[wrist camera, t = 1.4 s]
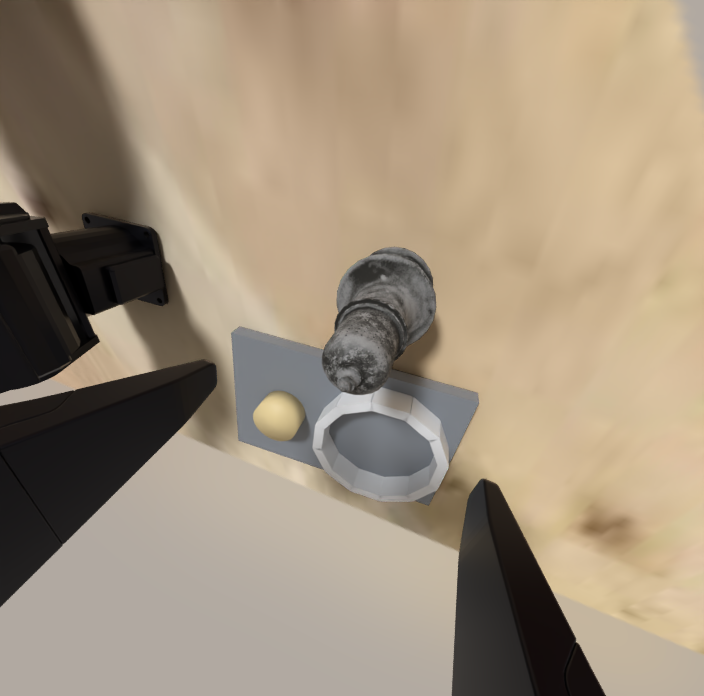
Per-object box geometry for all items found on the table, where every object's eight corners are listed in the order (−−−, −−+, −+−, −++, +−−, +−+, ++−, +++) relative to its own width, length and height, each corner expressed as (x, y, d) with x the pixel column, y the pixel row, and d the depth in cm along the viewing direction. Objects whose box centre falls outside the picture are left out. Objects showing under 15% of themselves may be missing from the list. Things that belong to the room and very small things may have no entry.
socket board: (245, 432, 33) (226, 455, 30) (239, 326, 26) (215, 343, 23) (429, 494, 30) (427, 526, 27) (477, 392, 23) (481, 421, 20)
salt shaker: (407, 340, 22) (373, 474, 12) (338, 299, 22) (248, 400, 12) (456, 272, 19) (467, 378, 9) (377, 224, 19) (299, 278, 9)
